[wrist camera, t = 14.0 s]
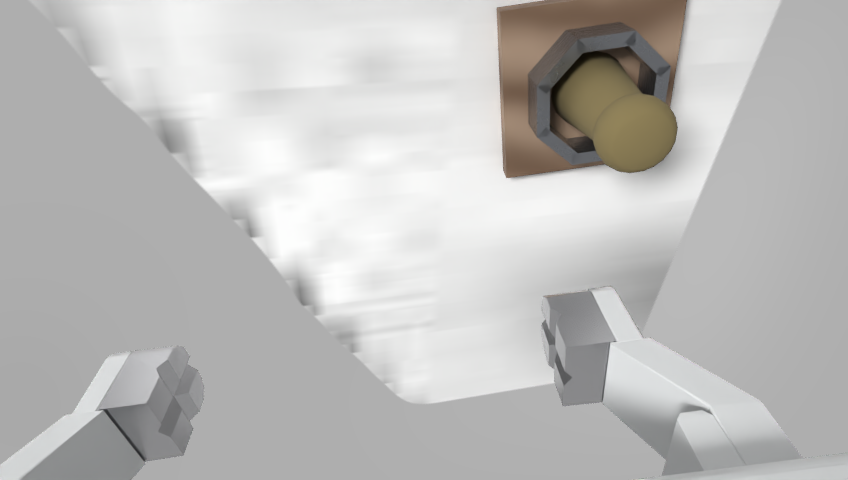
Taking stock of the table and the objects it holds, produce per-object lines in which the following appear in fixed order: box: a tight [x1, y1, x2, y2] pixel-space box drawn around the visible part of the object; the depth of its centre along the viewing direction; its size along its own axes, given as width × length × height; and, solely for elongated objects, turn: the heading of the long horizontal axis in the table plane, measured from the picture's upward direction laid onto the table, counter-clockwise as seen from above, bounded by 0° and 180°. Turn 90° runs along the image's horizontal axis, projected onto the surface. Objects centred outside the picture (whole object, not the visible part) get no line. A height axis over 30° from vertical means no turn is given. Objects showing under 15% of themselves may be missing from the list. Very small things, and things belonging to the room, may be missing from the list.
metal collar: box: [528, 22, 671, 165], centre depth 40 cm, size 10×10×3 cm
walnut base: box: [497, 0, 687, 178], centre depth 42 cm, size 14×14×2 cm
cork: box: [552, 51, 678, 173], centre depth 36 cm, size 6×6×11 cm
